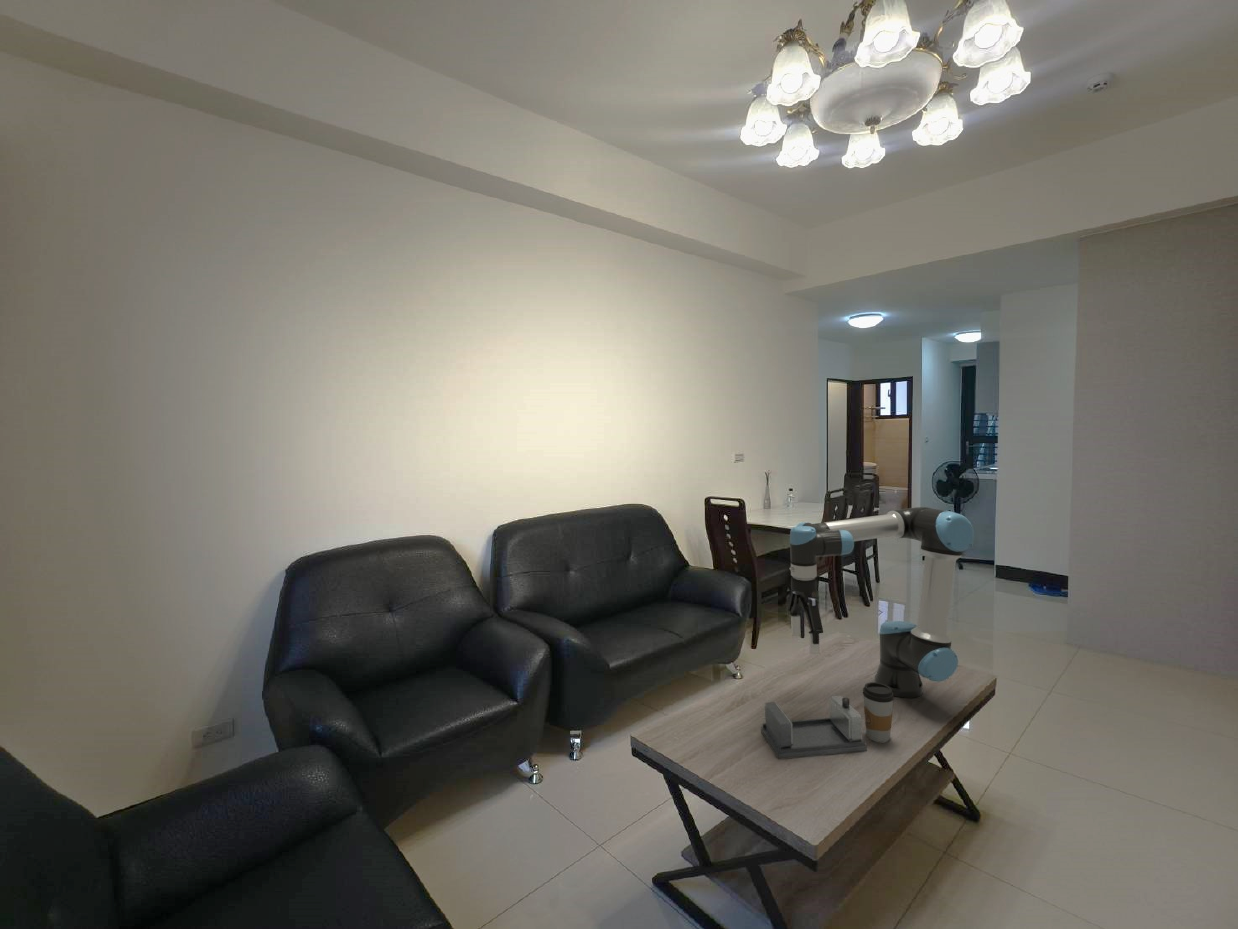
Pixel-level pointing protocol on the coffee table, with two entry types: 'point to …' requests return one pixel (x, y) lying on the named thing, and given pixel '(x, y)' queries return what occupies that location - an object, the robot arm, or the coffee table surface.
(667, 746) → the coffee table surface
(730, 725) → the coffee table surface
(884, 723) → the coffee cup
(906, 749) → the coffee table surface
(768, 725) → the base
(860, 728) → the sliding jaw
